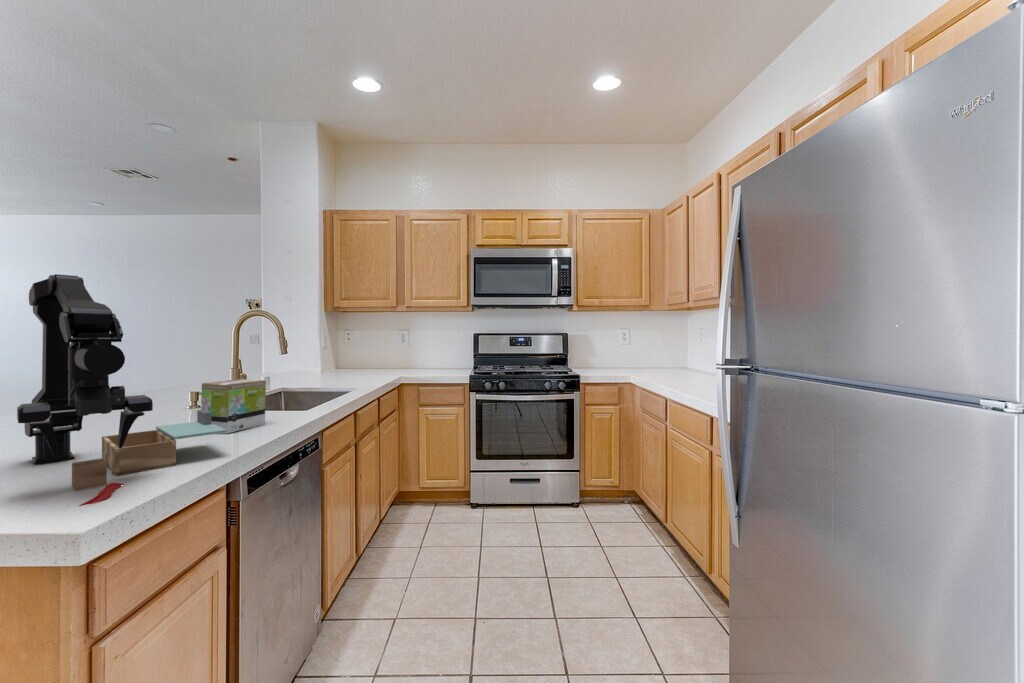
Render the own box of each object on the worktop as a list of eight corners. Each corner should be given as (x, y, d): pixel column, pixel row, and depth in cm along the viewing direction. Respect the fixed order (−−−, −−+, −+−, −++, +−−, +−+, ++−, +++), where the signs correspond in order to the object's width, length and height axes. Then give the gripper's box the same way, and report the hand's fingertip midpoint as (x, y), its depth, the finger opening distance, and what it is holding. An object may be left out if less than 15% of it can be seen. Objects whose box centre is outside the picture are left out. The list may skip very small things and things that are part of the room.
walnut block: (71, 485, 88) (71, 462, 88) (103, 480, 91) (102, 458, 91) (74, 491, 85) (74, 467, 85) (106, 485, 88) (106, 462, 88)
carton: (101, 460, 104) (101, 436, 104) (158, 451, 112) (158, 429, 112) (115, 475, 94) (114, 449, 94) (176, 465, 102) (176, 440, 102)
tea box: (228, 434, 132) (228, 384, 132) (199, 432, 134) (199, 382, 134) (266, 424, 147) (266, 378, 146) (239, 423, 149) (239, 377, 148)
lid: (156, 428, 112) (156, 414, 112) (205, 422, 120) (205, 409, 120) (173, 439, 101) (173, 423, 101) (226, 432, 109) (226, 417, 109)
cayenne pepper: (87, 509, 77) (87, 498, 77) (60, 509, 77) (60, 498, 77) (144, 485, 89) (144, 475, 89) (121, 485, 89) (121, 475, 89)
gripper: (19, 378, 75) (20, 471, 76) (159, 372, 89) (159, 450, 90) (16, 373, 83) (17, 458, 83) (146, 368, 97) (146, 441, 97)
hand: (89, 452), depth 88 cm, fingers open, 9 cm apart
